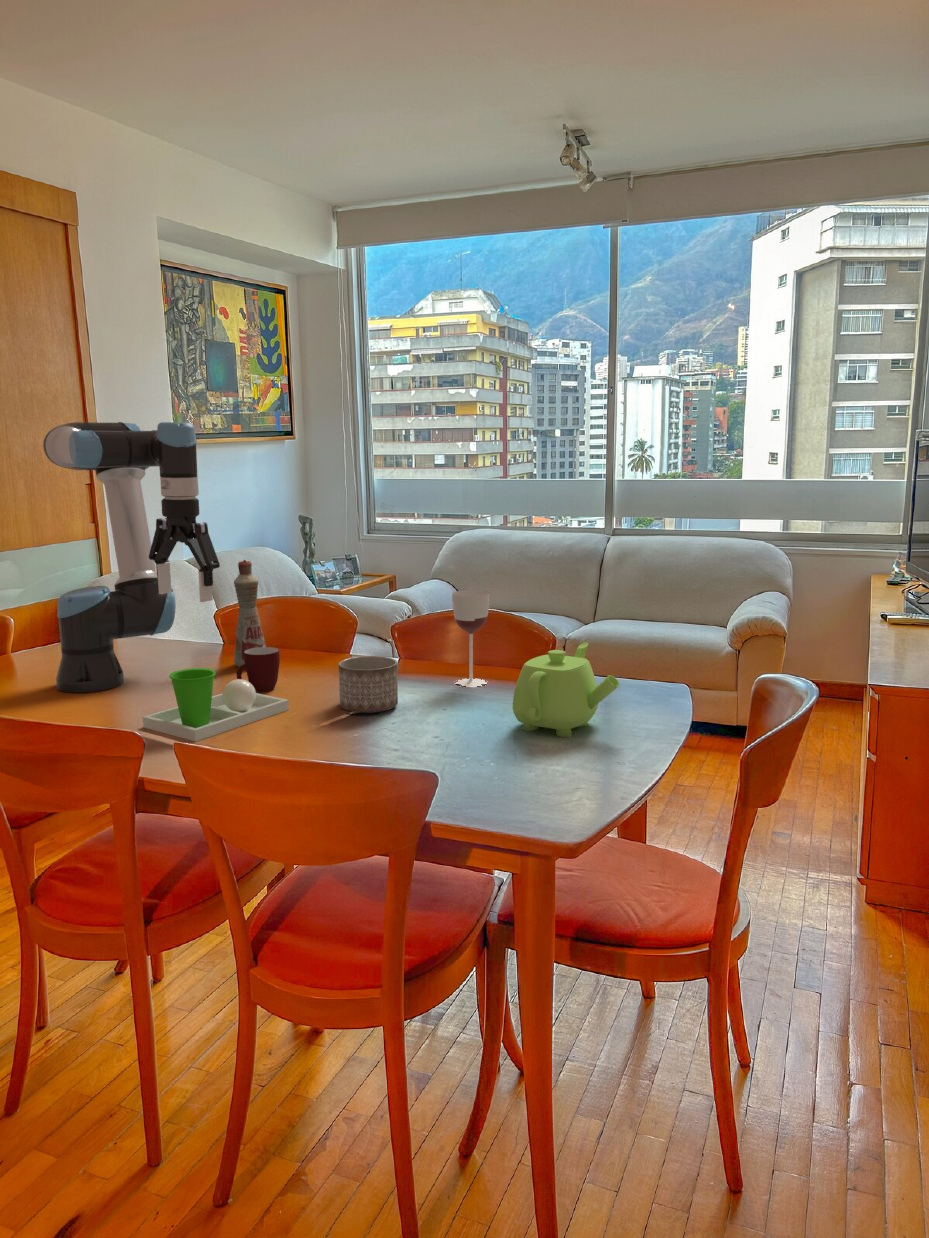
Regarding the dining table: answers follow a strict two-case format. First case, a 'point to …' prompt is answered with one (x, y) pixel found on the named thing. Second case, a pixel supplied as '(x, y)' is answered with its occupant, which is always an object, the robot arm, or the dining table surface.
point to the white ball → (239, 695)
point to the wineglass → (470, 622)
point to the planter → (368, 684)
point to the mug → (261, 667)
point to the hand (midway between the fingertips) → (185, 597)
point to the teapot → (559, 692)
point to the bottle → (247, 613)
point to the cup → (193, 695)
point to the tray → (215, 718)
